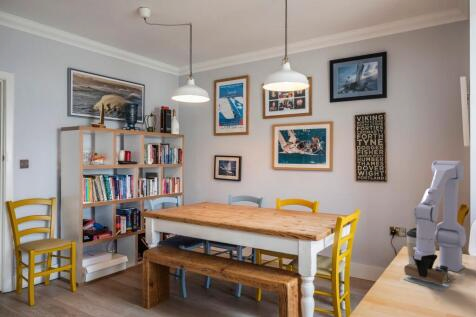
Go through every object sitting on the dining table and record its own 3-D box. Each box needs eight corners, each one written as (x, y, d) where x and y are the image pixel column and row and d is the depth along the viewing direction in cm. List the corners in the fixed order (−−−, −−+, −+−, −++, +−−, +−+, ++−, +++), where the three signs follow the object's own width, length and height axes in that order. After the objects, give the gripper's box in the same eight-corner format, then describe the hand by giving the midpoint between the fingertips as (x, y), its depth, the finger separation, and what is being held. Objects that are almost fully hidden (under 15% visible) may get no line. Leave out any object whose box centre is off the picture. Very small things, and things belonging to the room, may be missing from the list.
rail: (407, 272, 125) (407, 263, 125) (447, 282, 115) (447, 273, 115) (403, 274, 122) (403, 265, 122) (443, 285, 112) (443, 275, 112)
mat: (411, 275, 125) (411, 274, 125) (450, 285, 116) (450, 285, 116) (403, 279, 121) (403, 278, 121) (443, 291, 111) (443, 290, 111)
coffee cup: (434, 270, 130) (435, 233, 130) (409, 268, 132) (410, 231, 132) (426, 263, 139) (426, 227, 139) (403, 261, 141) (403, 226, 141)
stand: (418, 270, 130) (418, 259, 130) (450, 279, 122) (450, 267, 122) (412, 274, 126) (412, 262, 126) (444, 283, 118) (444, 270, 118)
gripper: (421, 232, 126) (420, 267, 126) (405, 238, 117) (404, 276, 117) (442, 236, 121) (441, 272, 121) (427, 243, 111) (426, 282, 111)
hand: (424, 275), depth 119 cm, fingers closed on rail, 3 cm apart
